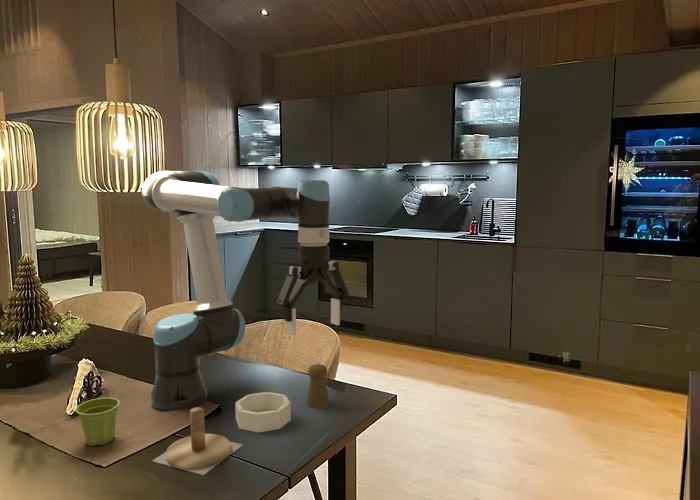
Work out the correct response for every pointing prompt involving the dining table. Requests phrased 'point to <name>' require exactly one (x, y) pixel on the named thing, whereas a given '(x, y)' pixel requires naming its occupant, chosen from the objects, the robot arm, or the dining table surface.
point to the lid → (198, 446)
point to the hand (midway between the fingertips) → (314, 329)
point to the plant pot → (98, 420)
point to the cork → (317, 387)
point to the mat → (201, 471)
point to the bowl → (262, 412)
